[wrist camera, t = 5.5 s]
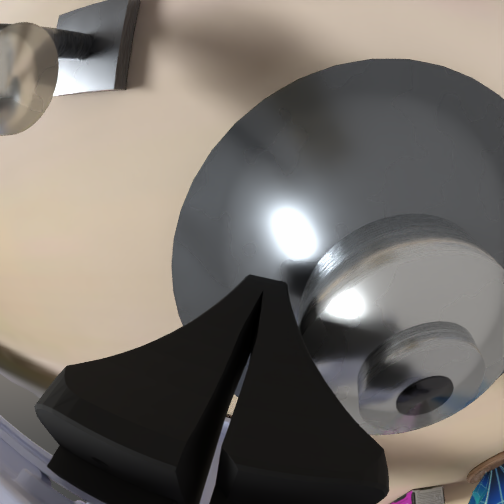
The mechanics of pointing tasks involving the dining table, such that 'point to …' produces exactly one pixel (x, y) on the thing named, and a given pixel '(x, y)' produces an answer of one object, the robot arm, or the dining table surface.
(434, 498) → the candy bar box
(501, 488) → the gemstone
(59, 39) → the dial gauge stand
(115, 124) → the dining table surface
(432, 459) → the dining table surface
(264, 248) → the turntable
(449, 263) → the cover
